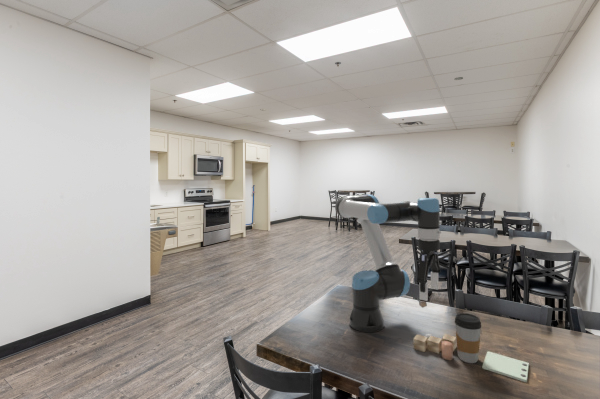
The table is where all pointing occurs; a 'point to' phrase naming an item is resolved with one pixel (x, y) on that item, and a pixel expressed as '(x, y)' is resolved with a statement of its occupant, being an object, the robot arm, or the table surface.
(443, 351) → the pink rounded piece
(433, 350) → the maple cube
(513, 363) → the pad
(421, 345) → the maple cube
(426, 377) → the table surface
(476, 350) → the coffee cup
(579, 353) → the table surface
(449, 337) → the maple cube
